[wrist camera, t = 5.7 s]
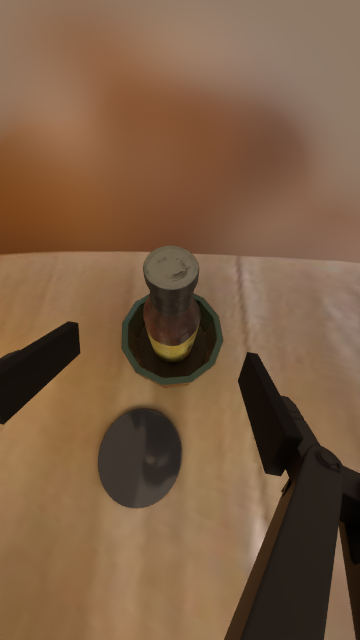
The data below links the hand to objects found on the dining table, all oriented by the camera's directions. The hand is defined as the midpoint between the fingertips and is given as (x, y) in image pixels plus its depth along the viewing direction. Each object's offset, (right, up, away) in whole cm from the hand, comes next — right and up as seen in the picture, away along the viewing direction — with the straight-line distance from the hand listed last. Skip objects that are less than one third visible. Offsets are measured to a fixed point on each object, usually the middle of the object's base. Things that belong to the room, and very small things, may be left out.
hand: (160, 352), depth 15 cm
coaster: (-4, -16, +11) cm, 19 cm away
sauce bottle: (0, -2, +17) cm, 17 cm away
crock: (0, -2, +17) cm, 17 cm away
